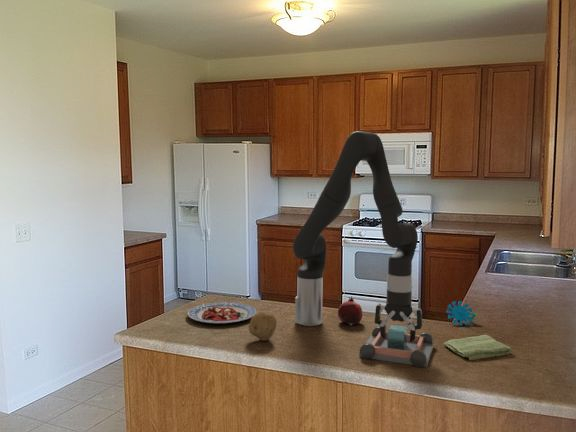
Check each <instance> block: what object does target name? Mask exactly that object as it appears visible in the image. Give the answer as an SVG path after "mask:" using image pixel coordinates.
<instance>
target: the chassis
mask: <svg viewBox="0 0 576 432" xmlns="http://www.w3.org/2000/svg"><path fill="white" fill-rule="evenodd" d="M433 341H434V338H433V335H432V334H431V333H430V332H427V331H423V332H421V333H420V334H419V335H418V334H416V335H415V340H413V342H410V333H407V346H406V348H405V350H399V349H392V348H387V342H388V330H386V337H385V338H382V336H381V335H380V325H379V326H376V327H374V329H373V330H372V331H371V335H370V336H369V338H368V339H367V341H366V342H365V343H363V344H362V346H361V347H360V349H359V355H358V356H359V358H363V359H365V360H378V361H384V362H390V363H397V364H404V365H410V366H411V365H412V366H414V367H416V368H423V367H425V368H428V366H429V361H430V360H431V359H430V358H431V355H432V353H433V350H434V342H433Z"/></svg>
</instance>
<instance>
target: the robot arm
mask: <svg viewBox="0 0 576 432" xmlns="http://www.w3.org/2000/svg"><path fill="white" fill-rule="evenodd" d="M361 161H363V162H366V163H367V164H368V166H369V168H370V171H371V173H372V195H373V200H374V203H375V205H376V208H377V211H378V213H379V215H380V223H381V231H382V237H383V240H384V241H385V243H386V244H387V245H388V246H389V247H390V248H392V249H396V251H395V252H394V253H393V254H391V255H390V256H389V258H388V266H387V268H388V269H387V270H388V271H387V278H386V303H385V305H382V304H381V303H377V305H376V306H375V313H374V314H375V316H374V324H376V325H379V326H380V335H381V336H382V338H385V337H386V331H387V325H386V324H387V323H388V322H389V321H390V320H392V321H393V322H402V323H403V322H405V323H406V325H408V327H409V328H410V331H409V334H410V342H413V340H415V335H417V334H416V332H417V330H421V329H422V327H423V310H422V308H421V307H419V308H413V307H412V295H413V294H412V292H413V291H412V290H413V279H412V270H413V269H412V267H413V264H412V263H413V259H414V256H415V253H416V248H417V246H418V239H419V235H418V231H417V228H416V227H415V226H414V225H413V224H412V223H400V222H399V217H401V216H402V214H403V213H404V211H403V207H402V204H401V202H400V200H399V197H398V194H397V192H396V190H395V187H394V184H393V181H392V178H391V173H390V169H389V166H388V162H387V158H386V152H385V149H384V144H383V141H382V139H381V137H380V136H379V135H378V134H376V133H374V132H369V131H361V130H359V131H358V130H357V131H354V132H352V133H351V134H350V135H349V136H348V137H347V138H346V140H345V142H344V145H343V147H342V149H341V152H340V154H339V157H338V160H337V161H336V164H335V167H334V168H333V170H332V172H331V174H330V177H329V178H328V180H327V183H326V184H325V186H324V188H323V190H322V191H321V193H320V194H319V197H318V199H317V201H316V204H315V205H314V207H313V209H312V211H311V212H310V214H309V216H308V218H307V220H306V221H305V223H304V225H302V227H301V228H300V230H299V231H298V233H297V235H296V236H295V238H294V240H293V243H292V250H293V251H292V253H293V254H294V256H295V258H298V259H300V260H304V262H303V263H302V265H300V267H298V268H297V275H296V277H297V278H296V279H297V284H296V287H297V289H296V291H297V292H296V295H297V296H295V299H294V307H295V308H294V311H295V312H294V323H295V324H298V325H301V326H306V327H314V326H319V325H321V324H322V323H323V294H324V293H323V287H324V286H323V284H324V283H323V282H324V281H323V279H324V278H323V277H324V275H323V274H324V271H325V268H326V257H327V242H326V239H325V237H324V235H323V234H322V233H323V231H324V230H325V229H326V228H328V226H329V225H331V223H332V222H334V221H336V219H337V218H338V217H339V216H340V215H341V214H342V212H343V211H344V209H345V207H346V206H347V203H348V202H349V200H350V198H351V194H352V193H351V192H352V177H353V174H354V172H355V170H356V168H357V167H358V165H359V164H360V163H361ZM383 311H385V312H386V314H387V315H386V317H385V318H384V319H383V320H382V319H381V314H382V312H383ZM412 314H413V315H414V316H415V317H416V323H415V322H414V320H413V318H412V317H411V315H412Z"/></svg>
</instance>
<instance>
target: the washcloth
mask: <svg viewBox="0 0 576 432" xmlns="http://www.w3.org/2000/svg"><path fill="white" fill-rule="evenodd" d="M443 346H445V348H447V347H448V348H447V349H449V348H450V349H449V350H451V351H452V352H453V353H456V354H457V355H458V356H459V355H460V356H461V357H463V358H465V357H466V358H465V359H467V360H469V361H474V360H481V358H482V359H486V358H487V359H488V358H494V357H495V356H496V357H500V356H501V357H502V356H507V355H508V356H509V355H510V354H511V353H512V351H513V349H512V348H511V347H510V346H509V345H507V344H504V343H502V342H501V341H497V340H496V339H495V338H494V337H492V336H490V335H488V334H481V335H477V336H469V337H464V338H463V337H462V338H455V339H448V341H447V340H446V341H444V343H443Z"/></svg>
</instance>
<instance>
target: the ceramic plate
mask: <svg viewBox="0 0 576 432" xmlns="http://www.w3.org/2000/svg"><path fill="white" fill-rule="evenodd" d="M256 313H257V310H256V308H255V307H253V306H251V305H250V304H249V305H248V304H247V303H246V304H245V303H240V302H229V301H222V302H210V303H204V304H200V305H197V306H194V307H192V308H190V309H189V310H188V311H187V316H188V317H189V318H190V319H192V320H194V321H197V322H201V323H207V324H208V323H209V324H216V325H217V324H218V325H222V324H223V325H224V324H234V323H237V322H241V321H245V320H249V319H252V317H253V316H254V315H255V314H256Z"/></svg>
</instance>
